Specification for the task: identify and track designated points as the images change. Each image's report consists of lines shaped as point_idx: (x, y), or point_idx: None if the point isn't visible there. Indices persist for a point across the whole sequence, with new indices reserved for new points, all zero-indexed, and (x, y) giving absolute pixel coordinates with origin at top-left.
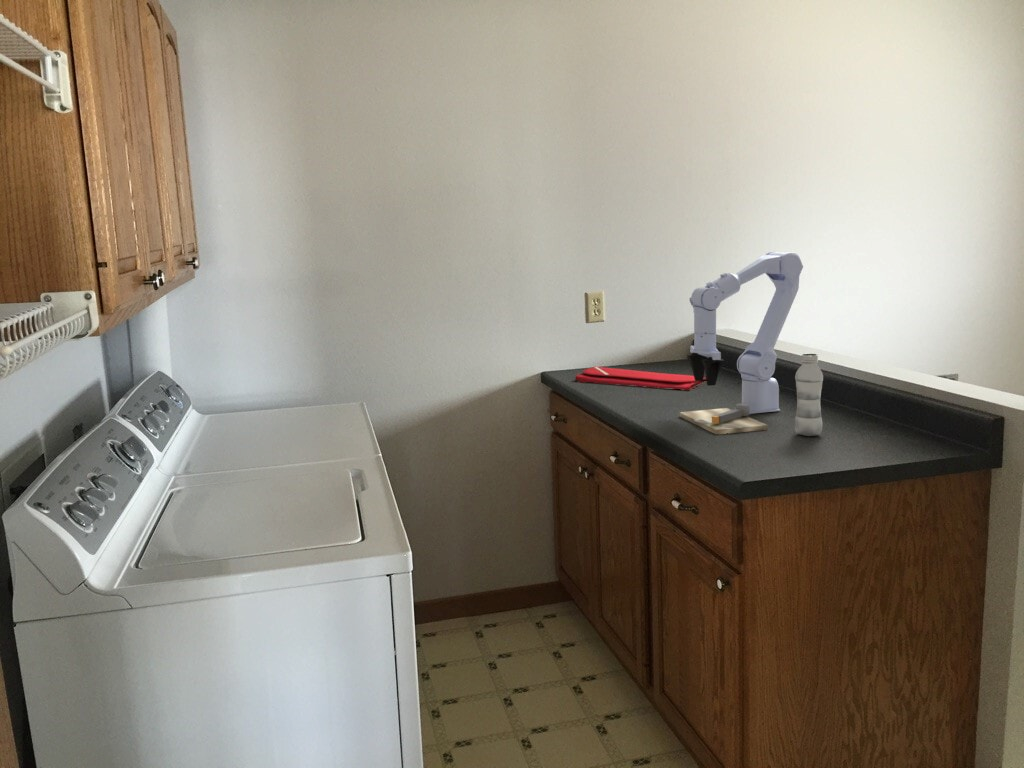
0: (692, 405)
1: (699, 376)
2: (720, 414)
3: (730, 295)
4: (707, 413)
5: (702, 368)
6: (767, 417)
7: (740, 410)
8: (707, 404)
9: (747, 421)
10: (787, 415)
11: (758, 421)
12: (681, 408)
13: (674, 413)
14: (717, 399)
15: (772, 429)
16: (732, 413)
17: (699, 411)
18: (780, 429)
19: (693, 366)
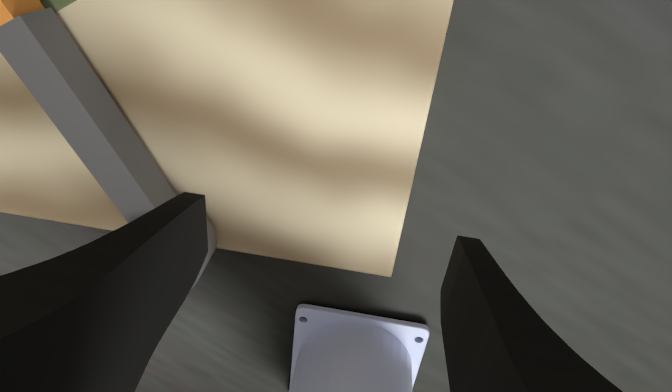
0: (654, 226)
1: (452, 292)
2: (40, 67)
3: None
4: (325, 128)
5: (457, 387)
6: (222, 318)
7: (126, 218)
8: (606, 292)
9: (77, 184)
10: (225, 376)
11: (68, 221)
12: (646, 133)
13: (562, 9)
14: (655, 376)
15: (15, 217)
16: (78, 151)
17: (399, 120)
18: (12, 239)
19: (497, 336)
